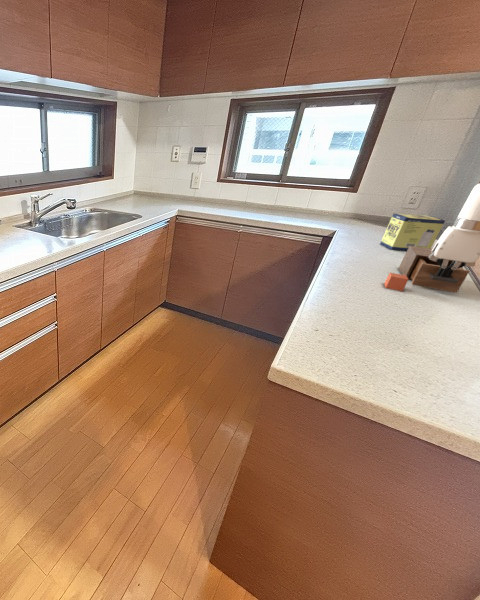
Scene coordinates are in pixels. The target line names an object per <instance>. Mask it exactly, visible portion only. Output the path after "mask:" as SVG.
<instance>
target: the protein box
mask: <svg viewBox="0 0 480 600" xmlns="http://www.w3.org/2000/svg"><path fill="white" fill-rule="evenodd" d="M445 223H446V220H445V219H442V218H438V217H435V216H432V215H424V214H423V215H422V214H406V213H404V214H403V213H392V216H391V218H390V219H389V223H388V224H387V227H386V230H385V232H384V234H383V236H382V238H381V240H380V245H381V246H383V247H386V248H388V249H389V250H391V251H400V252H401V251H403V252H407V250H408V248H409V246H416V247H423V248H430V249H432V248H433V245H434V244H435V241H436V240H437V239H438V238H437V237H438V236H439V234H440V232H441V230H442V228H443V226H444V224H445Z"/></svg>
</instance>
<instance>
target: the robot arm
mask: <svg viewBox="0 0 480 600" xmlns="http://www.w3.org/2000/svg"><path fill="white" fill-rule="evenodd" d="M431 249H432V254H431V255H430V256H429V257H428V258H429V259H430V260H432V261H435V262H437V263H438V264H439V265H440V268H439V270H438V271H437V273H436V276H441V277H446V278H449V277H450V276H451V274H452V272H453V271H454V270H456V269H458V268H460V267H475V266H476V262H478V261H479V260H480V183H477V184H476V185H475V186H474V187H473V188H472V190H471V191H470V194H469V195H468V197H467V199H466V201H465V202H464V204H463V206H462V208H461V210H460V212H459V214H458V215H457V217H456V219H455V221H454V223H453V225H452V226H449V225H448V226H447V228H446V229H445V230H444V231H443V232H442V234H441V235H440V236H439V238H438V240H437V241H436V243H434V246H433V247H432V248H431ZM440 258H441V259H440ZM449 260H453V262H452V263H451V264H450V266H448V267H447V264H448V261H449Z"/></svg>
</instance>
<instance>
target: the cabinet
mask: <svg viewBox="0 0 480 600" xmlns="http://www.w3.org/2000/svg"><path fill="white" fill-rule="evenodd" d="M432 249H433V248H431V249H430V248H423V247H416V246H409V248H408V250H407V251H405V254H404V256H403V258H402V260H401V263H400V265H399V266H398V270H399V272H400V273H401V275H406V276H407V278H408V279H409V280H408V281H413V280H412V279H411V277H410V273H411V271H412V269H413V267H414V265H415V263H416V261H417V259H418V257H420V258H427V259H429V258H428V257H429V256H430V255H431V254H432ZM440 259H441V258H440ZM448 262H453V260H449V261H448ZM463 267H464V266H463ZM463 267H462V268H463ZM463 269H464V268H463Z"/></svg>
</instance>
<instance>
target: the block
mask: <svg viewBox="0 0 480 600" xmlns="http://www.w3.org/2000/svg"><path fill="white" fill-rule="evenodd" d="M408 281H410V280H409V279H408V278H407V276H406V275H402V274H400V273H394V272H389V273H388V275H387V278H386V279H385V281H384V283H383V284H384V287H385V289H389V290H394V291H399V292H403V291H404V289H405V287H406V285H407V283H408Z"/></svg>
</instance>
